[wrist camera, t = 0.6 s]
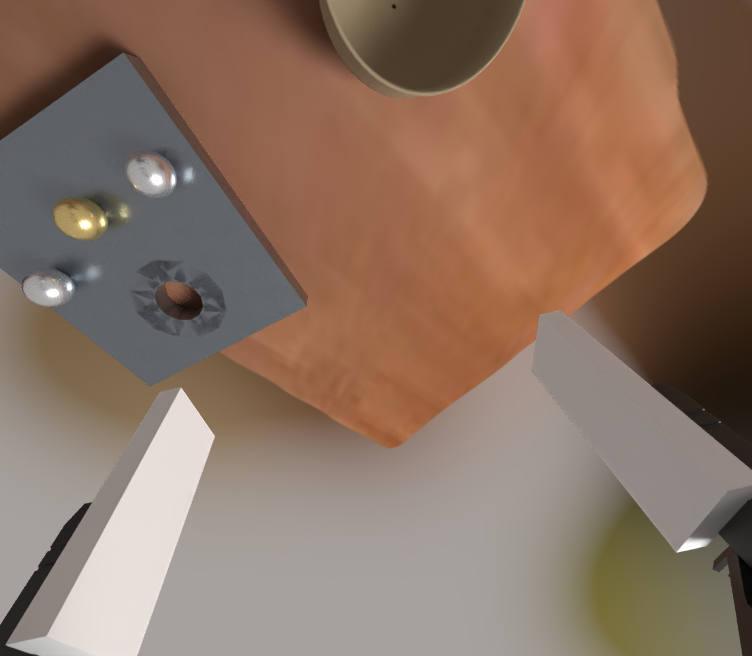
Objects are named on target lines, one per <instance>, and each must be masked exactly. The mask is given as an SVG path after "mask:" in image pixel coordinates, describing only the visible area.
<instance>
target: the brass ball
mask: <svg viewBox="0 0 752 656" xmlns="http://www.w3.org/2000/svg"><path fill="white" fill-rule="evenodd" d="M52 219H53V222H54V224H55V225H56V227H57V228H58V229H59V230H60V231H61V232H62V233H63V234H65V235H67V236H69V237H71V238H73V239H76V240H81V241H90V240H95V239H98V238H100V237H101V236H102V235H103V234H104V233H105V232H106V230H107V228H108V219H107V216H106V214H105V212H104V211H103V210H102V209H101V208H100V207H99V206H98V205H97V204H95V203H94V202H92V201H90V200H88V199H85V198H81V197H68V198H64V199H61V200H60V201H58V202H57V203H56V204H55V205H54V207H53V209H52Z"/></svg>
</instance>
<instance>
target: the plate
mask: <svg viewBox="0 0 752 656" xmlns="http://www.w3.org/2000/svg"><path fill="white" fill-rule="evenodd" d="M139 150H150V151H153V152H156V153H158V154H160V155H162V156H163V157H165V158H166V159H167V160H168V161H169V162H170V163H171V165H172V166H173V168H174V170H175V172H176V176H177V184H176V187H175V189H174V190H173V192H172V193H171V194H169V195H168V196H165V197H162V198H152V197H148V196H145V195H143V194H141V193H139V192H138V191H136V190H135V189H134V188H133V187H132V186H131V185H130V184H129V182H128V180H127V179H126V176H125V173H124V164H125V161H126V159H127V157H128V156H129V155H130V154H132V153H133V152H135V151H139ZM68 197H81V198H85V199H88V200H90V201H92V202H94V203H95V204H97V205H98V206H99V207H100V208H101V209H102V210H103V211H104V212H105V214H106V216H107V219H108V228H107V230H106V232H105V233H104V234H103V235H102V236H101V237H100V238H98V239H95V240H90V241H81V240H76V239H73V238H71V237H69V236H67V235H65V234H63V233H62V232H61V231H60V230H59V229H58V228H57V227H56V225H55V224H54V222H53V219H52V209H53V207H54V205H55V204H56V203H57V202H58V201H60V200H61V199H64V198H68ZM0 268H1V269H2V270H4V271H5V272H6V273H7V274H9V275H10V276H11V277H13V278H14V279H15V280H17V281H18V282H19V283H20V284H22V280H23V279H24V277H25V276H26V275H27V274H28V273H30V272H32V271H34V270H37V269H44V268H48V269H55V270H58V271H61V272H63V273H65V274H66V275H68V276H69V277H70V278H71V279H72V281H73V282H74V285H75V293H74V296H73V297H72V299H71V300H70V301H68V302H67V303H65V304H63V305H60V306H54V307H51V308H52V309H53V310H54V311H56V312H57V313H58V314H59V315H61V316H62V317H63V318H65V319H66V320H67V321H68V322H70V323H71V324H72V325H73V326H74V327H76V328H77V329H78V330H80V331H81V332H82V333H83V334H85V335H86V336H87V337H88V338H90V339H91V340H92V341H93V342H95V343H96V344H97V345H99V346H100V347H101V348H102V349H104V350H105V351H106V352H107V353H109V354H110V355H111V356H112V357H114V358H115V359H116V360H117V361H119V362H120V363H121V364H123V365H124V366H125V367H126V368H128V369H129V370H130V371H132V372H133V373H134V374H135V375H136V376H138V377H139V378H140V379H142V380H143V381H144V382H145V383H147V384H148V385H149V386H152V385H154V384H156V383H158V382H160V381H162V380H164V379H166V378H168V377H170V376H172V375H174V374H176V373H177V372H179V371H181V370H183V369H185V368H187V367H189V366H191V365H193V364H195V363H197V362H199V361H201V360H203V359H205V358H207V357H209V356H211V355H212V354H215V353H217V352H218V351H220V350H222V349H224V348H226V347H228V346H230V345H232V344H234V343H236V342H238V341H240V340H242V339H244V338H246V337H248V336H250V335H252V334H254V333H256V332H258V331H259V330H261V329H263V328H265V327H267V326H269V325H271V324H273V323H275V322H277V321H279V320H281V319H283V318H285V317H287V316H289V315H291V314H293V313H295V312H297V311H299V310H300V309H302V308H304V307H306V306H307V298H308V296H307V295H306V293H305V292H304V290H303V289H302V287H301V286H300V285H299V283H298V282H297V280H296V279H295V278H294V276H293V275H292V273H291V272H290V270H289V269H288V268H287V266H286V265H285V263H284V262H283V260H282V259H281V258H280V256H279V255H278V253H277V252H276V251H275V249H274V248H273V246H272V245H271V243H270V242H269V241H268V239H267V238H266V236H265V235H264V233H263V232H262V231H261V229H260V228H259V226H258V225H257V224H256V222H255V221H254V219H253V218H252V216H251V215H250V214H249V212H248V211H247V209H246V208H245V206H244V205H243V204H242V202H241V201H240V199H239V198H238V197H237V195H236V194H235V192H234V191H233V189H232V188H231V187H230V185H229V184H228V182H227V181H226V179H225V178H224V177H223V175H222V174H221V172H220V171H219V170H218V168H217V167H216V165H215V164H214V162H213V161H212V160H211V158H210V157H209V155H208V154H207V152H206V151H205V150H204V148H203V147H202V145H201V144H200V143H199V141H198V140H197V138H196V137H195V135H194V134H193V133H192V131H191V130H190V128H189V127H188V125H187V124H186V123H185V121H184V120H183V118H182V117H181V116H180V114H179V113H178V111H177V110H176V108H175V107H174V106H173V104H172V103H171V101H170V100H169V98H168V97H167V96H166V94H165V93H164V91H163V90H162V89H161V87H160V86H159V84H158V83H157V81H156V80H155V79H154V77H153V76H152V74H151V73H150V71H149V70H148V69H147V67H146V66H145V64H144V63H143V61H142V60H141V59H140V58H138V57H135V56H132V55H129V54H126V53H122V54H120V55H119V56H118V57H116V58H115V59H113V60H112V61H111V62H109V63H108V64H106V65H105V66H104V67H102V68H101V69H99V70H98V71H97V72H95V73H94V74H92V75H91V76H90V77H88V78H87V79H86V80H84V81H83V82H81V83H80V84H79V85H77V86H76V87H74V88H73V89H72V90H70V91H69V92H67V93H66V94H65V95H63V96H62V97H60V98H59V99H58V100H56V101H55V102H53V103H52V104H51V105H49V106H48V107H46V108H45V109H44V110H42V111H41V112H39V113H38V114H37V115H35V116H34V117H32V118H31V119H30V120H28V121H27V122H25V123H24V124H23V125H21V126H20V127H18V128H17V129H16V130H14V131H13V132H12V133H10V134H9V135H7V136H6V137H5V138H3V139H2V140H0ZM166 282H182V283H184V284H186V285H188V286H191V287H193V289H194V290H195V291H196V292H197V293H198V294H199V295H200V296H201V299H202V303H203V307H201V308H199V309H186V308H184V307H181V306H179V305H177V304H175V303H174V302H173V301H172V300H171V299H170V298H169V297H168V295H167V292H166V288H165V284H166Z"/></svg>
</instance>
